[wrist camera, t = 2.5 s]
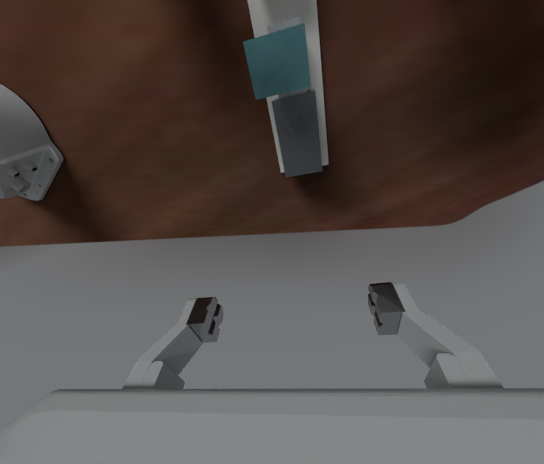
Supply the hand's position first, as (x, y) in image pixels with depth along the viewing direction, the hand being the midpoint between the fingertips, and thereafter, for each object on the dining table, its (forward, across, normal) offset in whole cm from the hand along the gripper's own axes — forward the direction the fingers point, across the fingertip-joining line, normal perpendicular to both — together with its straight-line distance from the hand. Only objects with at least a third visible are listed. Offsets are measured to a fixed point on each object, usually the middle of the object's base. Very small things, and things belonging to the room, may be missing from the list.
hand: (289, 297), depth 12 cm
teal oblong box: (+29, -2, -6) cm, 29 cm away
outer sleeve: (+29, -2, -1) cm, 30 cm away
